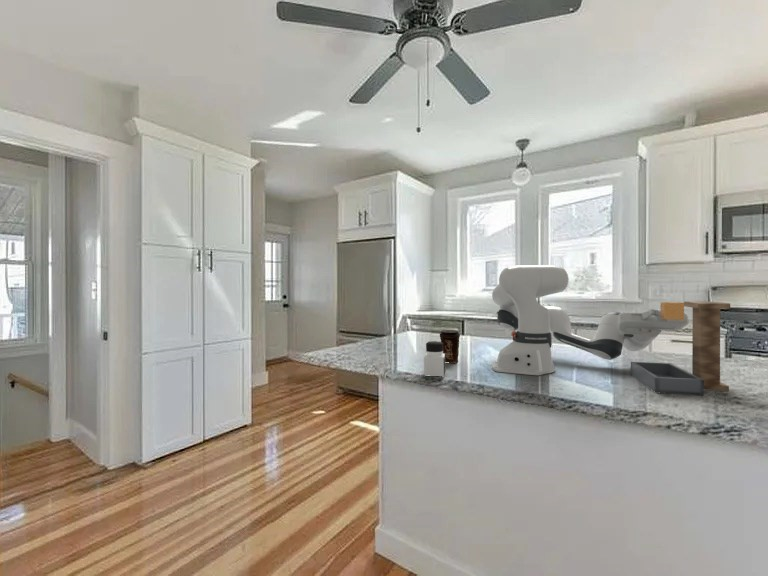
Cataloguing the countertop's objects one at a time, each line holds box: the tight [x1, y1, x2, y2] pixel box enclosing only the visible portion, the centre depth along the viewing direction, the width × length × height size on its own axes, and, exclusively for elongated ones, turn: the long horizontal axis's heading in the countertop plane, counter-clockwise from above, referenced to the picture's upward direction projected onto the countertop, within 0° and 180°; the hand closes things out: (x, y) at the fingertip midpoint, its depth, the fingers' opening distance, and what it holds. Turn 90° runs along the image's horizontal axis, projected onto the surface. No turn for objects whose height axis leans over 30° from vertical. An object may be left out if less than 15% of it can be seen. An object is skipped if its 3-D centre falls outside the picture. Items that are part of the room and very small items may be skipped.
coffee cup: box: [439, 329, 461, 364], centre depth 161 cm, size 9×8×13 cm
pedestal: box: [683, 301, 731, 392], centre depth 120 cm, size 8×9×26 cm
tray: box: [630, 361, 705, 397], centre depth 124 cm, size 12×22×4 cm, turn 164°
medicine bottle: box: [423, 340, 446, 377], centre depth 141 cm, size 7×7×12 cm
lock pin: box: [654, 301, 685, 320], centre depth 124 cm, size 5×15×5 cm, turn 164°
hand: (659, 311), depth 128 cm, fingers closed on lock pin
